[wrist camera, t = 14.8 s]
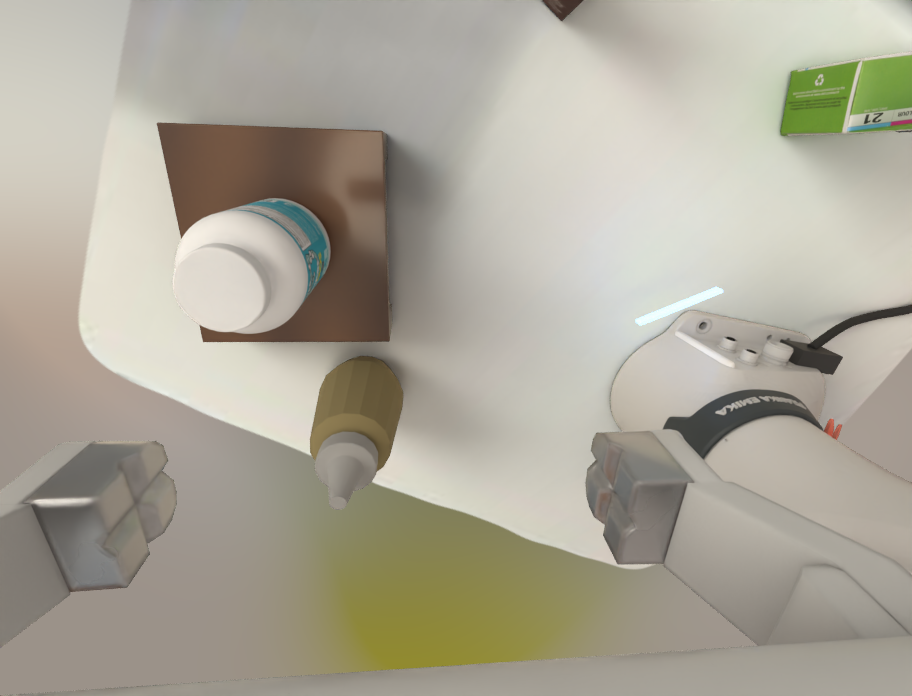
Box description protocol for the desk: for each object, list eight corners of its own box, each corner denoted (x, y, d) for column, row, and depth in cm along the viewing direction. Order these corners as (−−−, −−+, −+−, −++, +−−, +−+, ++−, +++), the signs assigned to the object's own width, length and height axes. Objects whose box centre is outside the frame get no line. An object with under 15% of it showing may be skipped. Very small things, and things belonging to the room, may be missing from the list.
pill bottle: (294, 307, 38) (236, 381, 26) (218, 246, 35) (112, 295, 23) (352, 244, 36) (319, 290, 24) (276, 174, 34) (195, 186, 21)
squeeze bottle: (319, 404, 48) (268, 536, 31) (334, 336, 45) (286, 443, 28) (394, 420, 49) (382, 554, 33) (413, 355, 46) (411, 467, 30)
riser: (387, 133, 38) (382, 130, 33) (392, 322, 45) (389, 341, 40) (189, 126, 36) (156, 122, 32) (225, 322, 43) (202, 342, 39)
